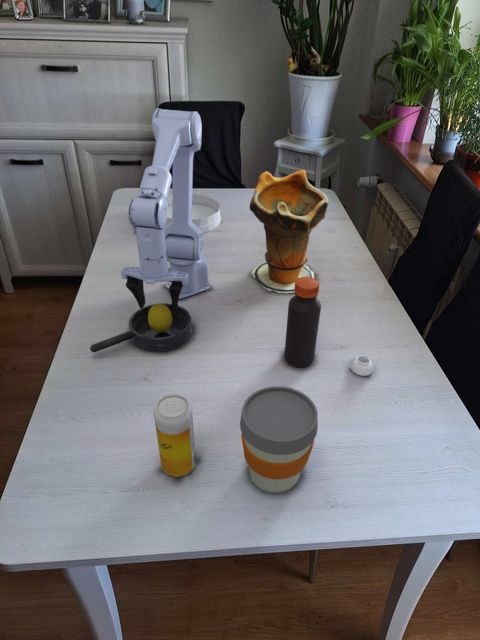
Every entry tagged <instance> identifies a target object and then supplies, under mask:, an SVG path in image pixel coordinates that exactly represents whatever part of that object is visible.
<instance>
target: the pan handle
mask: <svg viewBox="0 0 480 640" xmlns="http://www.w3.org/2000/svg"><path fill="white" fill-rule="evenodd" d="M133 337H134V334H133V332H132V331H130V330H128V331H125V332H123V333H120V334H116V335H115V336H112V337H109V338H107V339H104V340H101V341H99V342H96V343H93V344H91V345H90V347H89V350H90V352H92V353H97V352H100V351H103V350H106V349H108V348H111V347H114V346H116V345H119V344H122V343H124V342H126V341H130V340H132V338H133Z"/></svg>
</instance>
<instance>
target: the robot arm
mask: <svg viewBox="0 0 480 640" xmlns="http://www.w3.org/2000/svg"><path fill="white" fill-rule="evenodd" d="M151 128H152V134H153V135H154V139H155V141H156V142H155V147H154V153H153V157H152V164H151V165H149V166H147V167H146V168H145V169H144V172H143V176H142V179H141V182H140V186H139V189H138V193H137V195H136V196H135V198H132V199H131V200H130V202H129V204H128V212H127V213H128V223H129V224H130V226H131V228H132V233H133V235H135V238H136V244H137V251H138V252H137V253H138V259H139V266H124V267H123V268H122V269H121V271H120V274H121V279H122V280H126V282H125V287H126V288H127V289H128V291H130V293H131V294H132V295H133V298H135V300H136V302H137V304H138V307H139V309H141V308H143V307H145V306H146V295H145V289H144V283H145V284H146V285H155V284H156V283H165V282H166V284H165V287H166V289H168V292H169V297H170V300H171V304H172V311H173V312H176V310H177V308H178V306H179V300H183V299H185V298H189V297H191V296H194V295H197V294H199V293H202V292H205V291H207V290H210V289H211V287H210V286H209V268H208V263H207V260H206V259H205V256H203V254H204V239H203V233H202V231H201V230H200V229H199V228H198V227H197V226H196V225H195V224H194V223H193V222H192V194H193V178H194V177H193V176H194V175H193V174H194V173H193V171H194V156H195V153H196V152H198V151H201V147H202V134H203V133H202V131H203V130H202V129H203V126H202V119H201V115H200V114H199V112H198V111H196V110H195V111H187V110H176V109H172V110H171V109H162V108H160V107H159V108H158V107H157V108H156V109H155V110H154V112H153V114H152V117H151ZM171 168H172V174H171V173H170V170H171ZM171 186H172V188H171ZM170 189H171V191H172V193H171V194H172V195H171V196H172V222H171V223H170V224H169V225H167V226H166V227H165V228H164V226H165V224H166V220H167V208H168V203H167V197H168V196H169V194H170ZM179 234H181V235H179ZM168 263H169V267H168Z"/></svg>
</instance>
